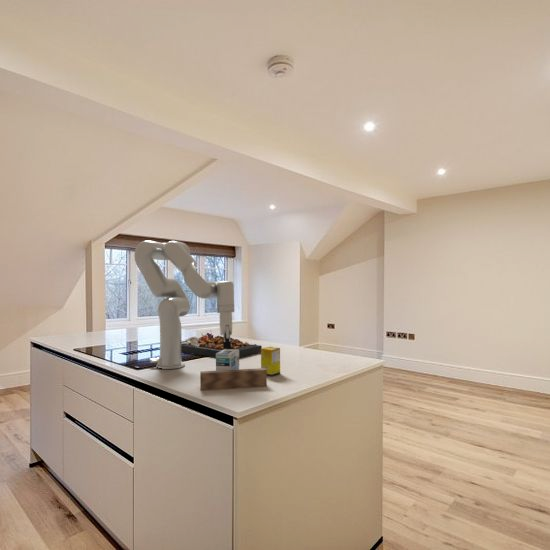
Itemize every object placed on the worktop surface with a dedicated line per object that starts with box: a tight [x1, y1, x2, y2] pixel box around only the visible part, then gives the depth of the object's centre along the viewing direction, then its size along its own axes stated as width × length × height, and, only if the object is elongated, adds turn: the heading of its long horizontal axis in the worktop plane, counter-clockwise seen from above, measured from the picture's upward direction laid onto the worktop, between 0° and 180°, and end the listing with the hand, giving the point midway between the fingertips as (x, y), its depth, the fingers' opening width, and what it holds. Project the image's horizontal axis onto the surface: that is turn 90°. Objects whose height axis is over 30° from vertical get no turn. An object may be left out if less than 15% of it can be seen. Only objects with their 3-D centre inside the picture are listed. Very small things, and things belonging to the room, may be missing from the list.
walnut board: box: [199, 367, 268, 391], centre depth 135 cm, size 24×3×6 cm, turn 102°
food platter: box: [181, 330, 263, 359], centre depth 205 cm, size 45×25×10 cm, turn 54°
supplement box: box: [260, 346, 281, 377], centre depth 154 cm, size 6×6×11 cm
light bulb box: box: [215, 349, 240, 371], centre depth 148 cm, size 11×7×11 cm, turn 168°
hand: (227, 350), depth 161 cm, fingers closed
